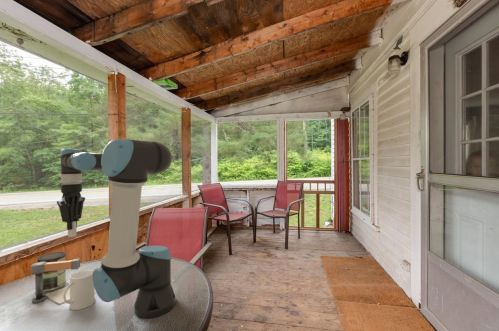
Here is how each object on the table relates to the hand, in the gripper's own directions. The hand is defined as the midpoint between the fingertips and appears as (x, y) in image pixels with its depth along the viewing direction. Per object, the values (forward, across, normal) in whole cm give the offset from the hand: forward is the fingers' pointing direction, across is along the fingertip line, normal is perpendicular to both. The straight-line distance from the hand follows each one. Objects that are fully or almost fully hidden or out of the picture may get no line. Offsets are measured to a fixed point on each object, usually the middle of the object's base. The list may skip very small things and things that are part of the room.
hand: (72, 236), depth 106 cm
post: (+24, +8, -8) cm, 27 cm away
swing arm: (+13, +6, -2) cm, 14 cm away
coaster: (+24, +2, +1) cm, 24 cm away
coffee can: (+25, -3, -13) cm, 28 cm away
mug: (+25, +11, +12) cm, 29 cm away
